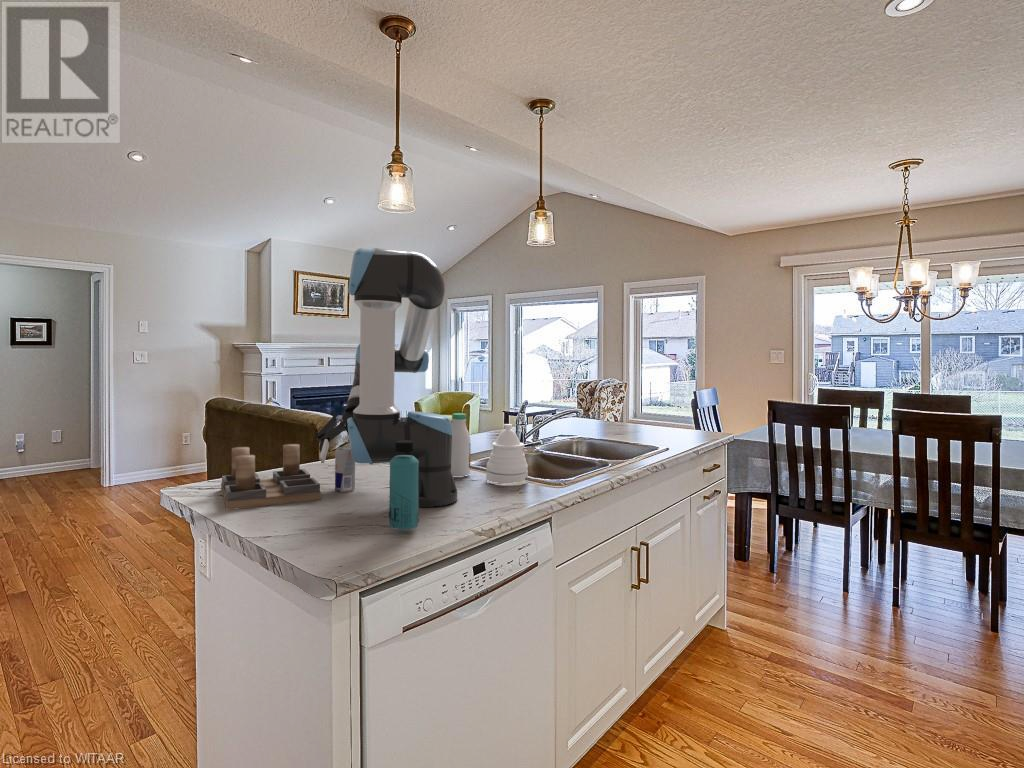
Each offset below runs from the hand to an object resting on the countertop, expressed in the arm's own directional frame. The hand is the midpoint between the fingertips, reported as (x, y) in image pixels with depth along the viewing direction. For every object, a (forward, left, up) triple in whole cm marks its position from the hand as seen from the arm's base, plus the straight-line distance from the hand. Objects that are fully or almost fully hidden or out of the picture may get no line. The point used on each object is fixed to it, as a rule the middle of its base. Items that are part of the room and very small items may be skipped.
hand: (345, 461), depth 156 cm
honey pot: (-12, -46, -8) cm, 49 cm away
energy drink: (-2, +1, -8) cm, 8 cm away
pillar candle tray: (+2, +20, -8) cm, 21 cm away
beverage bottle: (-44, -1, -8) cm, 45 cm away
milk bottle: (+2, -36, -8) cm, 37 cm away
